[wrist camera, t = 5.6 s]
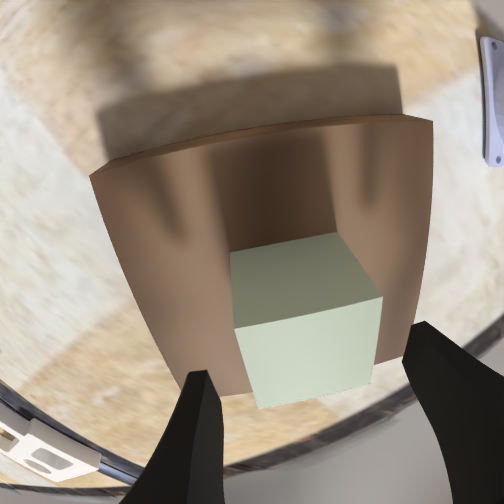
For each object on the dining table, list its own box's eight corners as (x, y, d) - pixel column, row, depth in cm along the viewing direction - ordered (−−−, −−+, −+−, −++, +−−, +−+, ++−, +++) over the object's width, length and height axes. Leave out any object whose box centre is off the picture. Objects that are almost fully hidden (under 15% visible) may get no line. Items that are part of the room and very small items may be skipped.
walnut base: (403, 114, 13) (432, 121, 10) (390, 330, 19) (405, 355, 17) (109, 161, 13) (89, 175, 10) (188, 370, 20) (186, 400, 17)
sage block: (336, 231, 13) (383, 296, 9) (338, 313, 15) (370, 383, 11) (229, 252, 13) (234, 329, 9) (248, 331, 15) (258, 409, 11)
